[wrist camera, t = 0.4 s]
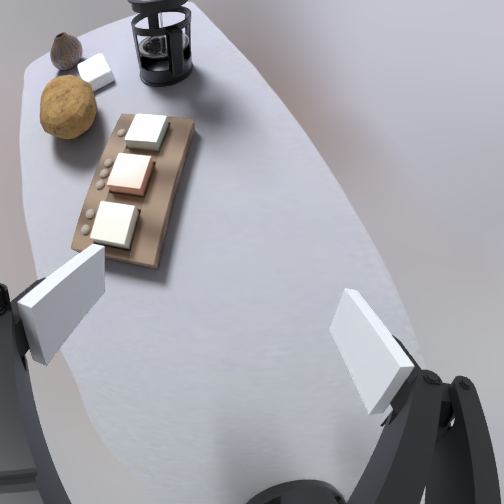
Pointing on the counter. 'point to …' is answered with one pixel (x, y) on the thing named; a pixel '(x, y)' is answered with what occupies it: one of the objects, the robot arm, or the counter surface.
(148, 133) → the sage button
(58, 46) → the vase
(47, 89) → the potato
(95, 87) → the soap
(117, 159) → the terracotta button
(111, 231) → the cream button
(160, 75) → the french press
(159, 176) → the console
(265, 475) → the counter surface
